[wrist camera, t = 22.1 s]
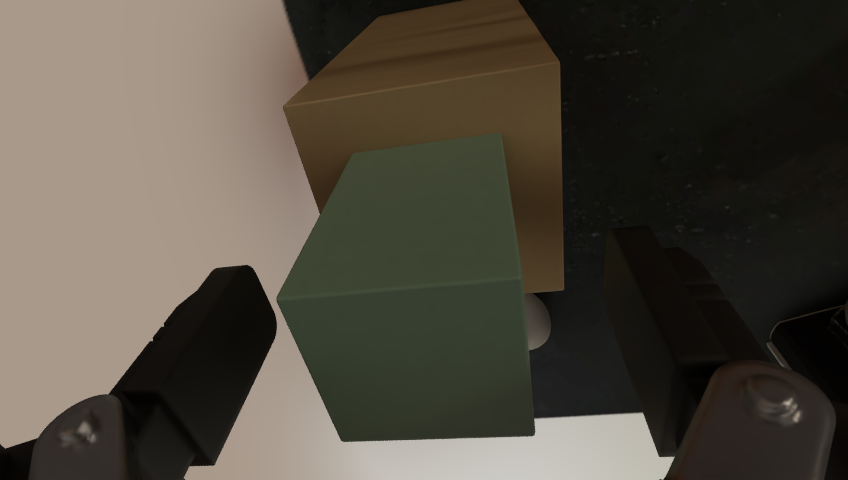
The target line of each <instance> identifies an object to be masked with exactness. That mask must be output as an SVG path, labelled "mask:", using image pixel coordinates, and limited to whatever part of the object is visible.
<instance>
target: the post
mask: <svg viewBox="0 0 848 480" xmlns="http://www.w3.org/2000/svg"><path fill="white" fill-rule="evenodd" d="M283 109H284V112H285V115H286V118H287V121H288V123H289V126H290V129H291V132H292V135H293V138H294V141H295V144H296V146H297V149H298V152H299V155H300V158H301V161H302V164H303V167H304V170H305V172H306V175H307V178H308V181H309V184H310V187H311V190H312V192H313V195H314V198H315V201H316V204H317V207H318V210H319V213H320V214H321V212H322V210H323V209H324V207H325V205H326V203H327V201H328V199H329V197H330V195H331V193H332V192H333V190H334V188H335V186H336V184H337V182H338V180H339V178H340V176H341V174H342V173H343V171H344V169H345V167H346V165H347V163H348V161H349V159H350V157H351V156H352V154H353V153H357V152H364V151H372V150H379V149H386V148H393V147H400V146H407V145H415V144H422V143H429V142H436V141H443V140H450V139H458V138H465V137H472V136H479V135H486V134H493V133H501V135H502V142H503V149H504V155H505V162H506V169H507V175H508V182H509V188H510V195H511V202H512V208H513V215H514V222H515V228H516V235H517V241H518V248H519V255H520V261H521V268H522V275H523V284H524V293H536V292H548V291H561V290H564V259H563V204H562V149H561V93H560V62H559V60H558V59H557V58H556V56H555V55H554V53H553V52H552V50H551V49H550V47H549V46H548V44H547V43H546V41H545V40H544V38H543V37H542V35H541V34H540V32H539V31H538V29H537V28H536V26H535V25H534V23H533V22H532V20H531V19H530V18H529V16H528V15H527V13H526V12H525V10H524V9H523V7H522V6H521V4H520V3H519V1H518V0H463V1H457V2H452V3H447V4H442V5H436V6H431V7H426V8H421V9H415V10H410V11H405V12H399V13H394V14H389V15H384V16H379V17H377V18H376V19H375V20H374V21H373V22H372V23H371V24H370V25H369V26H368V27H367V28H366V29H365V30H364V31H363V32H361V33H360V34H359V35H358V36H357V37H356V38H355V39H354V40H353V41H352V42H351V43H350V44H349V45H348V46H347V47H346V48H344V49H343V50H342V51H341V52H340V53H339V54H338V55H337V56H336V57H335V58H334V59H333V60H332V61H331V62H330V63H328V64H327V65H326V66H325V67H324V68H323V69H322V70H321V71H320V72H319V73H318V74H317V75H316V76H315V77H314V78H312V79H311V80H310V81H309V82H308V83H307V84H306V85H305V86H304V87H303V88H302V89H301V90H300V91H299V92H298V93H297V94H295V95H294V96H293V97H292V98H291V99H290V100H289V101H288V102H287V103H286V104H285V105H284V106H283Z"/></svg>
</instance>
